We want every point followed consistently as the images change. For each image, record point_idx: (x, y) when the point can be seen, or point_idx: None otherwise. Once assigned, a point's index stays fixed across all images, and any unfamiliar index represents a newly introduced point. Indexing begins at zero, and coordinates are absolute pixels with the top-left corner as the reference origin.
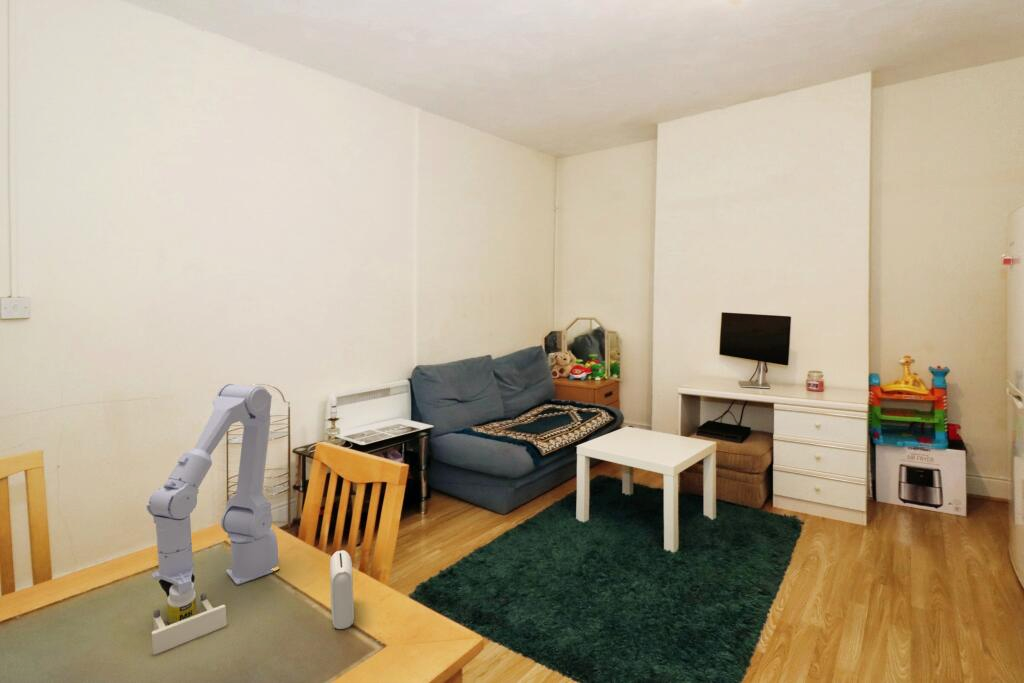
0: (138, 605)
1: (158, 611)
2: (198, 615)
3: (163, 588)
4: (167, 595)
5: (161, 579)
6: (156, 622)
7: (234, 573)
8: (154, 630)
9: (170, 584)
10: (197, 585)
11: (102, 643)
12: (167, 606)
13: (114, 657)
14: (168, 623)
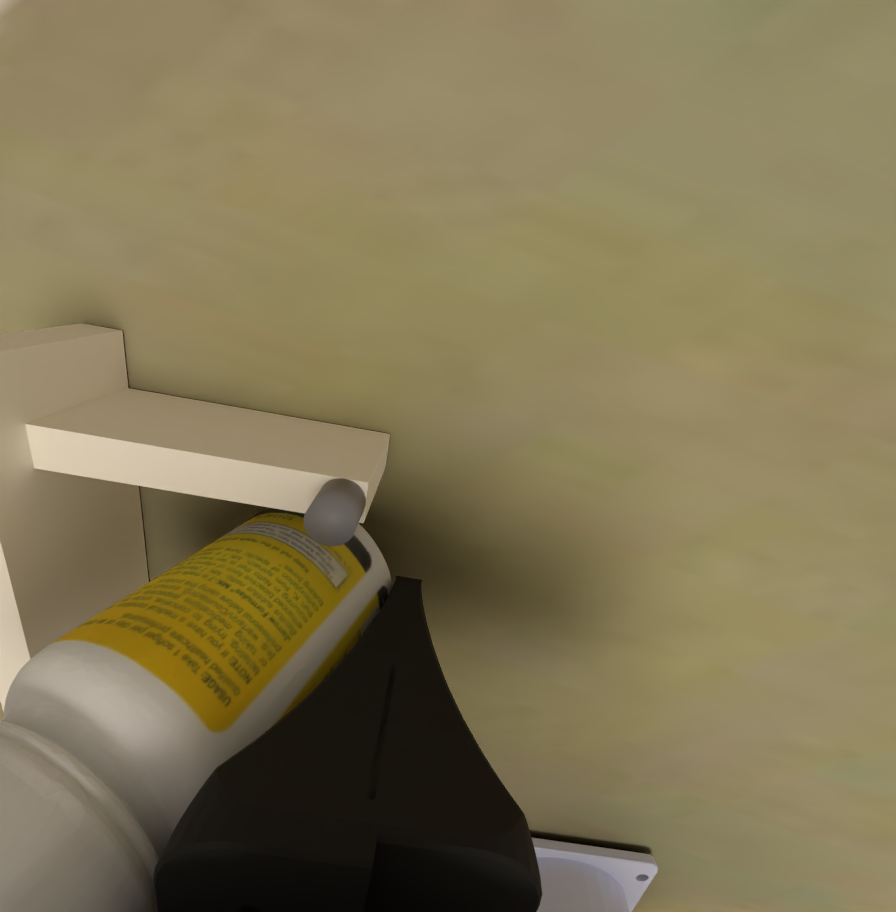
0: (827, 491)
1: (318, 533)
2: (9, 672)
3: (213, 807)
4: (322, 701)
5: (518, 884)
6: (241, 461)
7: (548, 885)
8: (381, 435)
9: (178, 905)
10: (677, 747)
11: (557, 111)
12: (161, 615)
13: (257, 107)
14: (282, 514)
